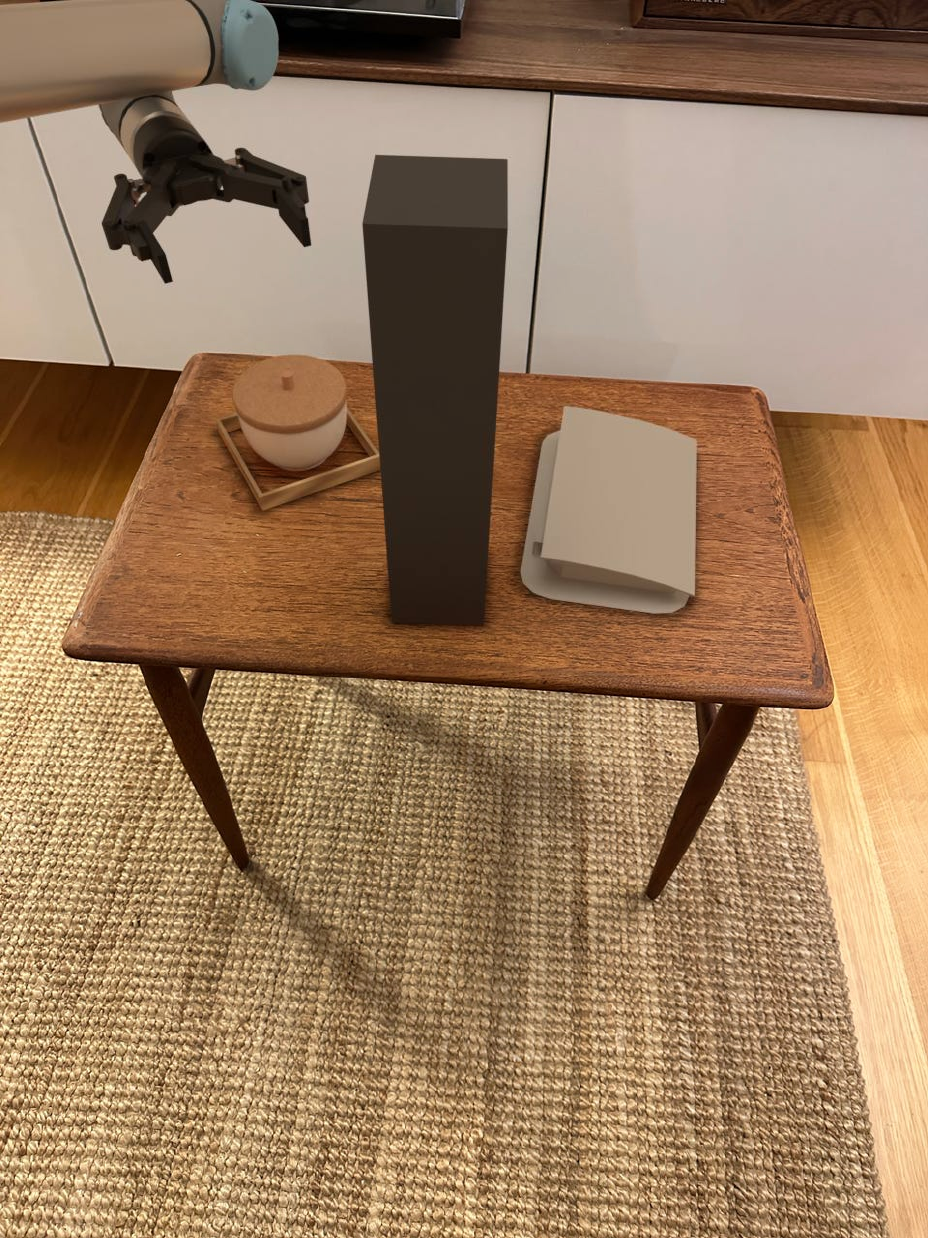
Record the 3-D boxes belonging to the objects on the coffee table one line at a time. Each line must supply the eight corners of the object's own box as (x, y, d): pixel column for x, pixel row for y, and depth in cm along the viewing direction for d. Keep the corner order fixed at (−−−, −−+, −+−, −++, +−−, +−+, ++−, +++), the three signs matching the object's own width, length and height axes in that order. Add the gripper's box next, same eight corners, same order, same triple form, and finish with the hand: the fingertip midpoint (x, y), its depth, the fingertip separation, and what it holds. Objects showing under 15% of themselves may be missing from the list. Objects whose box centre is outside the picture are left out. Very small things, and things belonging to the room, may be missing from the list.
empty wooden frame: (262, 510, 86) (259, 497, 84) (219, 432, 93) (215, 419, 91) (382, 469, 90) (381, 455, 88) (332, 397, 96) (330, 383, 95)
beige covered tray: (516, 594, 80) (519, 565, 77) (545, 426, 94) (548, 396, 91) (690, 618, 79) (700, 590, 76) (693, 445, 93) (701, 414, 90)
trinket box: (358, 418, 94) (351, 341, 87) (345, 490, 88) (336, 413, 80) (256, 414, 94) (240, 336, 87) (236, 485, 88) (217, 408, 80)
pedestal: (391, 622, 78) (362, 223, 49) (398, 554, 83) (375, 154, 54) (484, 626, 78) (507, 227, 49) (485, 556, 83) (507, 158, 54)
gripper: (285, 162, 101) (363, 254, 90) (59, 214, 94) (114, 322, 82) (275, 90, 95) (357, 180, 84) (33, 140, 88) (89, 245, 77)
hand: (237, 250), depth 83 cm, fingers open, 13 cm apart
